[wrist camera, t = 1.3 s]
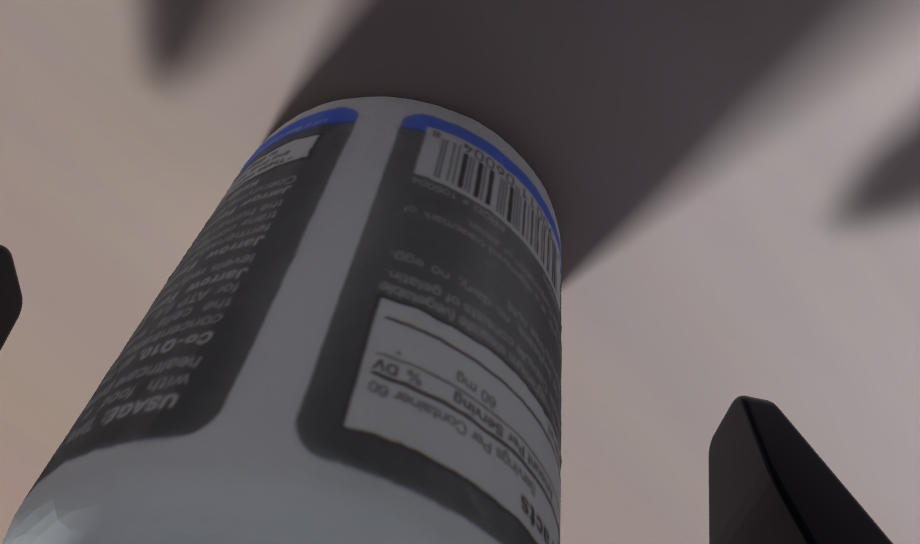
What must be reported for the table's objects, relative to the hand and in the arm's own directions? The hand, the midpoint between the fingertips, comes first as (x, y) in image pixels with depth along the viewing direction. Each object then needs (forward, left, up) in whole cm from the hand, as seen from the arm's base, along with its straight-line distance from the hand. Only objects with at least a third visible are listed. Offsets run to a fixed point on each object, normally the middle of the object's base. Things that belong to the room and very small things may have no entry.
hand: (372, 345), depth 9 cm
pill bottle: (0, 0, -2) cm, 2 cm away
